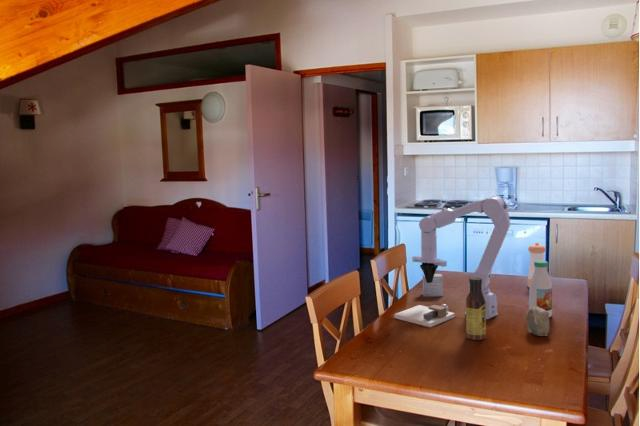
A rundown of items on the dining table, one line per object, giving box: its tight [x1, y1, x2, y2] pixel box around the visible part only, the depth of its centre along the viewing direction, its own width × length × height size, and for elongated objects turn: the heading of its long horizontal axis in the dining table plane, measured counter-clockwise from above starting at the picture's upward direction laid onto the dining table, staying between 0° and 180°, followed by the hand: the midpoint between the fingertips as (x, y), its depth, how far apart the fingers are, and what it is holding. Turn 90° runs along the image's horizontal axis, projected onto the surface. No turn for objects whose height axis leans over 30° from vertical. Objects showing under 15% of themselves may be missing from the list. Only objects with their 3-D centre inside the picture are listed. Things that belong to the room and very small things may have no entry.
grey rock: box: [525, 306, 550, 337], centre depth 185 cm, size 9×8×10 cm
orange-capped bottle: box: [527, 242, 547, 288], centre depth 241 cm, size 7×7×19 cm
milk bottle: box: [528, 260, 553, 318], centre depth 203 cm, size 8×8×20 cm
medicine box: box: [422, 273, 444, 298], centre depth 234 cm, size 8×4×9 cm, turn 84°
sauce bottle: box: [465, 276, 487, 341], centre depth 183 cm, size 7×6×20 cm
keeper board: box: [394, 304, 456, 328], centre depth 206 cm, size 16×15×5 cm
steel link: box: [423, 303, 449, 320], centre depth 202 cm, size 13×3×3 cm, turn 133°
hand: (429, 282), depth 215 cm, fingers closed
